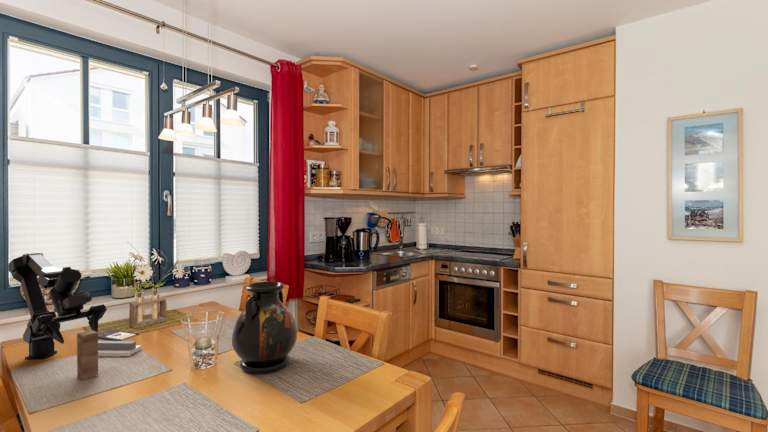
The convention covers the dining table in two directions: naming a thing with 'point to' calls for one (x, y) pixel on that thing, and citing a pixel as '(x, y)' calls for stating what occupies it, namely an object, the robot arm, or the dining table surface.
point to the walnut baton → (87, 354)
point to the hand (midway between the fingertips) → (80, 338)
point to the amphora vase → (264, 330)
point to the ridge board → (118, 352)
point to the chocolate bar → (115, 335)
